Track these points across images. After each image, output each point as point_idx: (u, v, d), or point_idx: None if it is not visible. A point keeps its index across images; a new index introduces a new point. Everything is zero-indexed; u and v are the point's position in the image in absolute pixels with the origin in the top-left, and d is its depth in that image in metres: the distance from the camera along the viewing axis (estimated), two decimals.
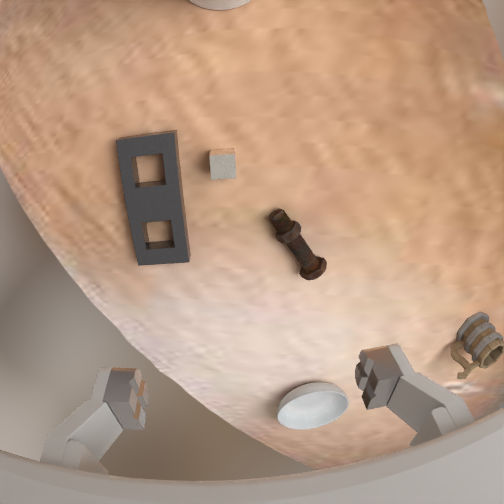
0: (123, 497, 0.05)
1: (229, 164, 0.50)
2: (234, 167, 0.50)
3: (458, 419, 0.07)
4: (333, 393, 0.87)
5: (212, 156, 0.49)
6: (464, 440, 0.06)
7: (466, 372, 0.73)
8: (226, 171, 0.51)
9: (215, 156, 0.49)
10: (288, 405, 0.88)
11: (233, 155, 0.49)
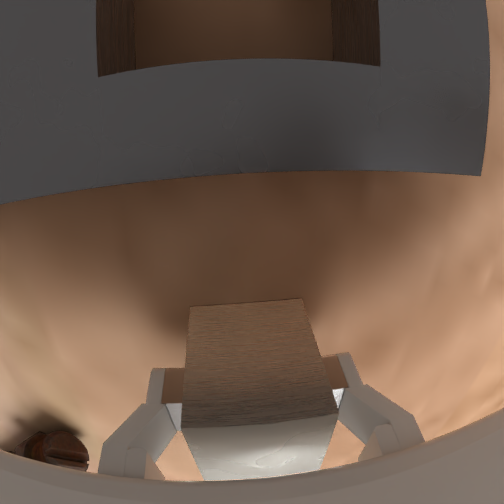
0: (122, 496, 0.05)
1: (270, 467, 0.09)
2: (255, 476, 0.09)
3: (404, 438, 0.07)
4: None
5: (330, 423, 0.07)
6: (464, 440, 0.06)
7: None
8: (234, 463, 0.08)
9: (326, 431, 0.08)
10: None
11: (313, 468, 0.09)
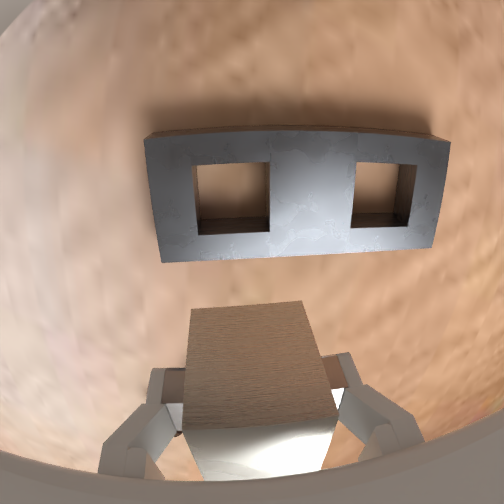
0: (122, 497, 0.05)
1: (270, 469, 0.09)
2: (256, 477, 0.09)
3: (404, 438, 0.07)
4: None
5: (330, 424, 0.08)
6: (464, 440, 0.06)
7: None
8: (235, 465, 0.08)
9: (326, 433, 0.08)
10: None
11: (313, 469, 0.09)
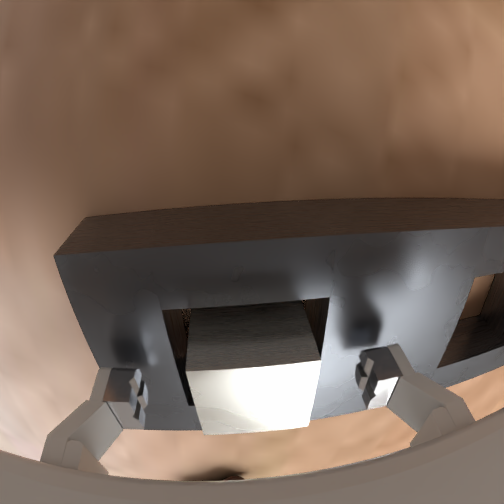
0: (123, 497, 0.05)
1: (263, 420, 0.11)
2: (250, 430, 0.11)
3: (458, 419, 0.07)
4: None
5: (314, 370, 0.09)
6: (464, 440, 0.06)
7: None
8: (231, 413, 0.10)
9: (311, 380, 0.10)
10: None
11: (302, 424, 0.11)
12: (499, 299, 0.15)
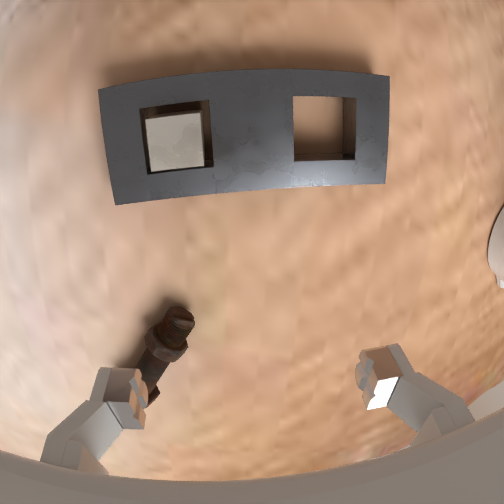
0: (122, 496, 0.05)
1: (179, 156, 0.23)
2: (174, 166, 0.23)
3: (458, 419, 0.07)
4: None
5: (198, 119, 0.22)
6: (464, 440, 0.06)
7: None
8: (164, 149, 0.22)
9: (198, 125, 0.22)
10: None
11: (200, 163, 0.23)
12: (347, 134, 0.27)
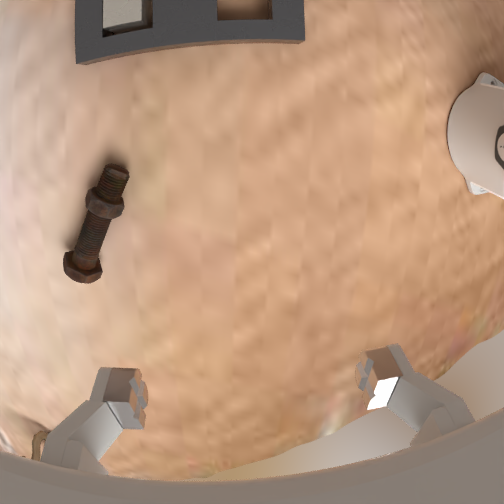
0: (123, 497, 0.05)
1: (124, 15, 0.23)
2: (119, 22, 0.23)
3: (458, 419, 0.07)
4: None
5: None
6: (464, 440, 0.06)
7: None
8: (113, 12, 0.22)
9: None
10: None
11: (139, 18, 0.23)
12: (269, 7, 0.27)
